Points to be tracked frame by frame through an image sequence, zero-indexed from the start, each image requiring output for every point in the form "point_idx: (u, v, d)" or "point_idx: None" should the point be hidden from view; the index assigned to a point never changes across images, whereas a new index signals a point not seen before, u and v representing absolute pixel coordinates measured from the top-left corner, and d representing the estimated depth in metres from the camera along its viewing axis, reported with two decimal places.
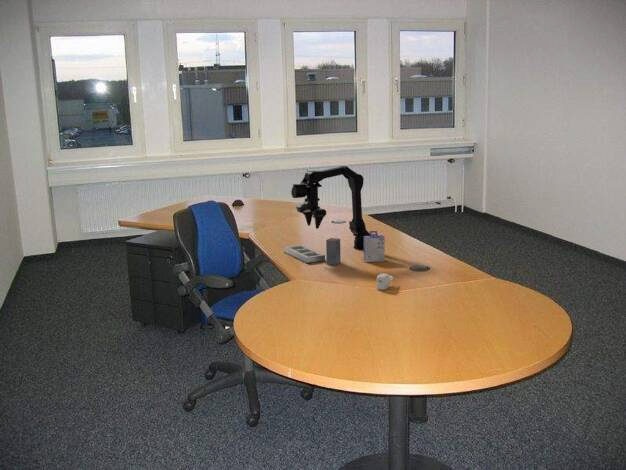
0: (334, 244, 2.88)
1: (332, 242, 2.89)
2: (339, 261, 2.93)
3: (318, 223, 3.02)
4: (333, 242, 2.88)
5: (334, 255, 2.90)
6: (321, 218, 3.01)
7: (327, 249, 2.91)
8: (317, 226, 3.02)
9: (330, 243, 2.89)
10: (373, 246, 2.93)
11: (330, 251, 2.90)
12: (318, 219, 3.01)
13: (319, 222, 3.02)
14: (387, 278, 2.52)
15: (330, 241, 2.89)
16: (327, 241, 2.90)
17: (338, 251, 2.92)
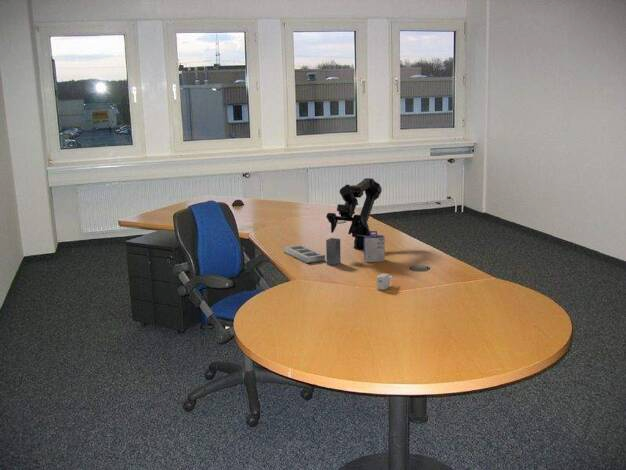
0: (334, 244, 2.88)
1: (332, 242, 2.89)
2: (339, 261, 2.93)
3: (352, 229, 2.96)
4: (333, 242, 2.88)
5: (334, 255, 2.90)
6: (356, 227, 2.98)
7: (327, 249, 2.91)
8: (350, 231, 2.96)
9: (330, 243, 2.89)
10: (373, 246, 2.93)
11: (330, 251, 2.90)
12: (354, 226, 2.97)
13: (353, 229, 2.97)
14: (387, 278, 2.52)
15: (330, 241, 2.89)
16: (327, 241, 2.90)
17: (338, 251, 2.92)
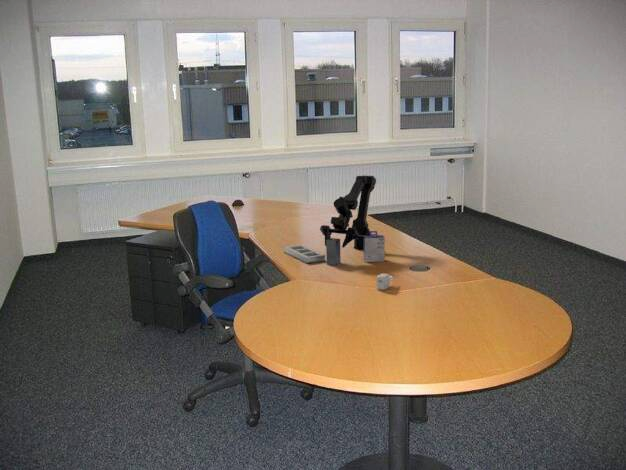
0: (334, 244, 2.88)
1: (332, 242, 2.89)
2: (339, 261, 2.93)
3: (346, 242, 2.91)
4: (333, 242, 2.88)
5: (334, 255, 2.90)
6: (350, 240, 2.93)
7: (327, 249, 2.91)
8: (344, 245, 2.91)
9: (330, 243, 2.89)
10: (373, 246, 2.93)
11: (330, 251, 2.90)
12: (348, 239, 2.92)
13: (347, 242, 2.92)
14: (387, 278, 2.52)
15: (330, 241, 2.89)
16: (327, 241, 2.90)
17: (338, 251, 2.92)
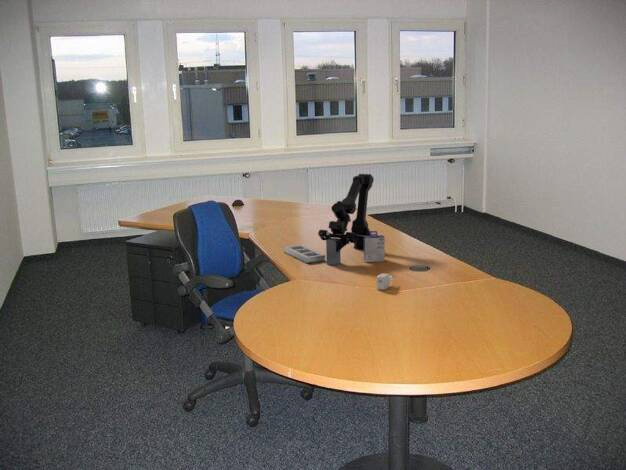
0: (334, 244, 2.88)
1: (332, 242, 2.89)
2: (339, 261, 2.93)
3: (341, 247, 2.91)
4: (333, 242, 2.88)
5: (334, 255, 2.90)
6: (344, 244, 2.93)
7: (327, 249, 2.91)
8: (338, 249, 2.90)
9: (330, 243, 2.89)
10: (373, 246, 2.93)
11: (330, 251, 2.90)
12: (342, 243, 2.92)
13: (341, 246, 2.91)
14: (387, 278, 2.52)
15: (330, 241, 2.89)
16: (327, 241, 2.90)
17: None
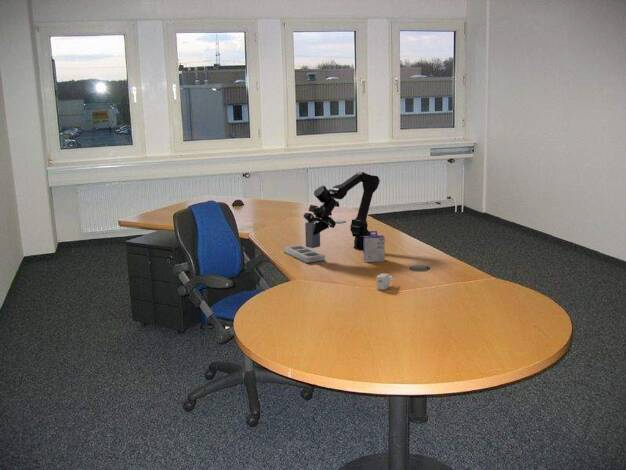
0: (311, 227, 2.95)
1: (309, 225, 2.95)
2: (318, 244, 2.99)
3: (318, 230, 2.96)
4: (310, 225, 2.95)
5: (311, 238, 2.96)
6: (323, 228, 2.97)
7: (306, 231, 2.98)
8: (316, 232, 2.95)
9: (308, 226, 2.96)
10: (373, 246, 2.93)
11: (308, 233, 2.97)
12: (321, 227, 2.96)
13: (320, 230, 2.96)
14: (387, 278, 2.52)
15: (308, 224, 2.96)
16: (306, 224, 2.97)
17: (316, 234, 2.97)
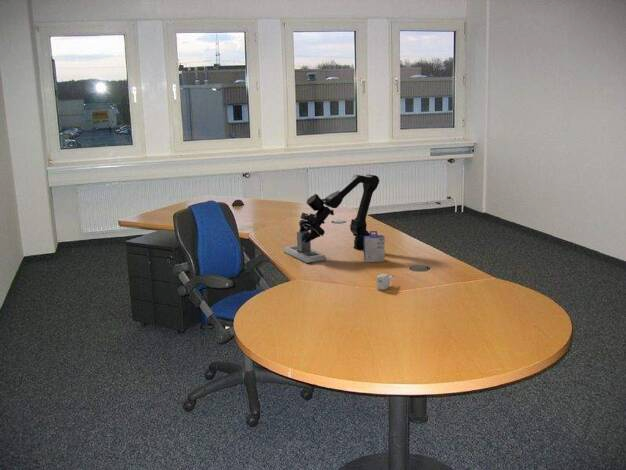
0: (300, 236, 3.03)
1: (299, 235, 3.04)
2: None
3: (310, 238, 3.01)
4: (300, 235, 3.03)
5: (300, 247, 3.04)
6: (315, 236, 3.02)
7: (297, 240, 3.07)
8: (307, 240, 3.01)
9: (299, 236, 3.05)
10: (373, 246, 2.93)
11: (299, 243, 3.06)
12: (312, 235, 3.01)
13: (311, 238, 3.01)
14: (387, 278, 2.52)
15: (298, 233, 3.04)
16: (297, 233, 3.06)
17: (306, 244, 3.04)
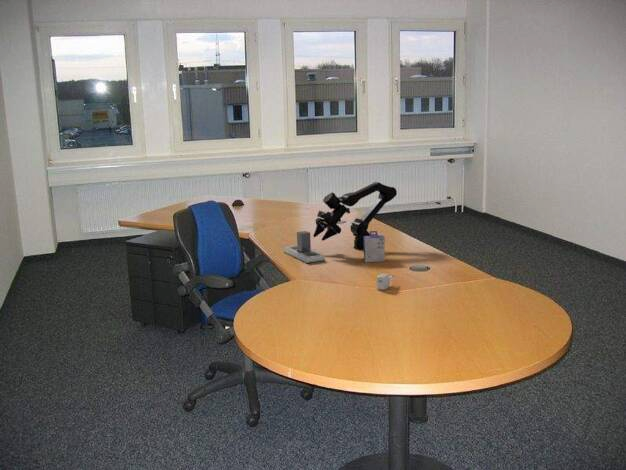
0: (300, 236, 3.03)
1: (299, 235, 3.04)
2: None
3: (326, 236, 3.05)
4: (300, 235, 3.03)
5: (300, 247, 3.04)
6: (332, 234, 3.06)
7: (297, 240, 3.07)
8: (324, 238, 3.05)
9: (299, 236, 3.05)
10: (373, 246, 2.93)
11: (299, 243, 3.06)
12: (329, 233, 3.05)
13: (328, 236, 3.06)
14: (387, 278, 2.52)
15: (298, 233, 3.04)
16: (297, 233, 3.06)
17: (306, 244, 3.04)
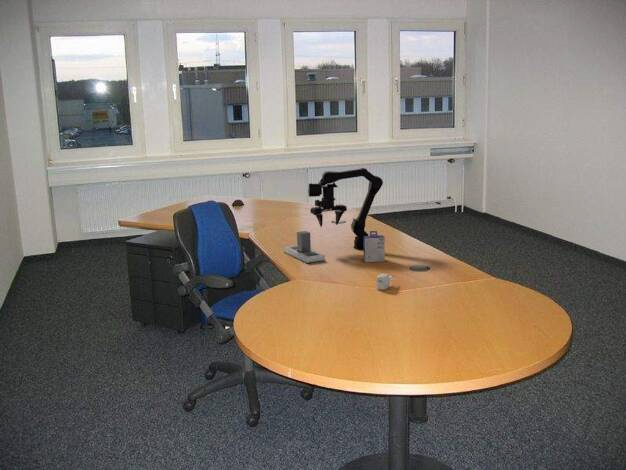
0: (300, 236, 3.03)
1: (299, 235, 3.04)
2: None
3: (319, 221, 3.15)
4: (300, 235, 3.03)
5: (300, 247, 3.04)
6: (319, 217, 3.13)
7: (297, 240, 3.07)
8: (320, 224, 3.16)
9: (299, 236, 3.05)
10: (373, 246, 2.93)
11: (299, 243, 3.06)
12: (319, 217, 3.14)
13: (319, 220, 3.14)
14: (387, 278, 2.52)
15: (298, 233, 3.04)
16: (297, 233, 3.06)
17: (306, 244, 3.04)
